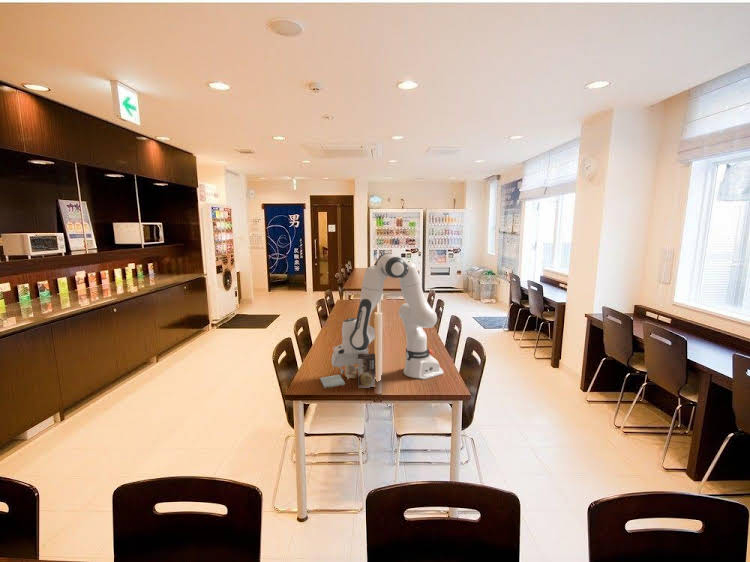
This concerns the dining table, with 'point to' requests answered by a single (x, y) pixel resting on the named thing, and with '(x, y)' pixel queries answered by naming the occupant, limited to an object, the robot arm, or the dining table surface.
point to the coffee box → (366, 370)
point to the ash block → (350, 371)
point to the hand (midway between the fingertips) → (350, 372)
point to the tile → (332, 381)
